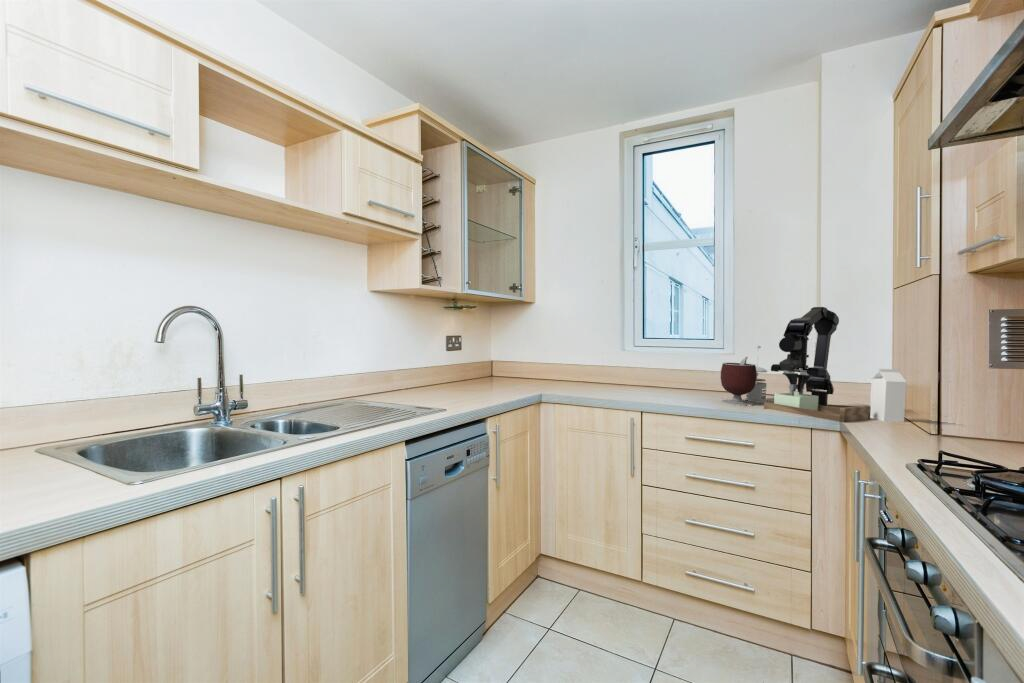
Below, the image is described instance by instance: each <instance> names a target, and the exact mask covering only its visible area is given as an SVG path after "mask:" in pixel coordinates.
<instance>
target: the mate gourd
mask: <svg viewBox="0 0 1024 683" xmlns="http://www.w3.org/2000/svg"><path fill="white" fill-rule="evenodd" d="M747 360H748V356H745V357H744V358H743V359H742V360H741V361H740V362H722V365H721V368H720V383H721V387H722V388H723V389H724V391H726V392H728V393H730V394H732V395H733V398H732V399H722V400H721V403H722V404H724V403H726V404H725V405H728V404H732V405H731V406H736V405H752V406H754V402H750V401H745V400H743V398H742V396H744V395H746V393H749V392H751V391H752V390H753V389H754V387H755V384H756V378H758V376H757V373H758V372H756V367H757V365H756V364H754V363H747Z"/></svg>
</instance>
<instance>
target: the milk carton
mask: <svg viewBox="0 0 1024 683" xmlns="http://www.w3.org/2000/svg"><path fill="white" fill-rule="evenodd" d="M906 395H907V381H906V379H905V377H904V376H903V375H902V374H901V373H900V369H897V368H895V369H894V368H892V369H890V368H879V369H878V372H877V373H876V374H875V375H874V376H873V377H872V378H871V383H870V400H869V402H870V403H869V406H871V411H870V419H873V420H878V421H880V422H881V421H882V422H891V423H892V422H894V423H896V422H897V423H898V422H899V423H900V422H901V423H905V411H906V410H905V409H906Z"/></svg>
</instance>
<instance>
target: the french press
mask: <svg viewBox="0 0 1024 683" xmlns="http://www.w3.org/2000/svg"><path fill="white" fill-rule="evenodd" d="M755 348H756V349H757V351H759V349H761V345H759V344H758V345H756V346H755ZM756 359H757V360H756V361H757V362H756V364H757V365H756V372H757V377H756V384H755V387H754V389H753V390H752V391H751V392H749V393H746V394H745V395H746V398H744V399H743V401H745V400H748V401H747V402H750V401H755V402H754V403H760V402H767V401H768V400H767V383H766V379H763V378H758V376H759V373H767V372H768V370H767V369H765V368H763V367H760V366H759V357H757V358H756Z"/></svg>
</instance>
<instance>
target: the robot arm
mask: <svg viewBox="0 0 1024 683" xmlns="http://www.w3.org/2000/svg"><path fill="white" fill-rule="evenodd" d="M839 323H840V318H839V316H838V315H837V314H836V312H833V311H832V310H829V309H828V307H825V306H813V307H811V308H810V310H809V311H808V312H806V313H805V314H804V315H802V317H797V318H793V319H790V321H789V322H788V324H787V325H786V328H785V331H784V332H783V335H782V336H783V338H781V339H780V340H779V342H778V346H779V347H778V348H779V349H780V350H781V351H782V352H784V353H787V356H786V359H785V358H784V359H783V360H781V361H780V362H779V363H773V364H771V367H770V371H771V372H782V375H785V377H786V378H787V380H788V382H789V385H792V384H798V389H794V392H796V390H797V393H799V392H801V390H802V388H803V386H804V387H805V389H806V390H805V391H806V392H807V393H811V394H810V395H815V396H818V405H822V406H828V398H829V397H828V395H834V392H835V391H834V390H835V387H834V386H833V383H832V380H831V374H830V373H829V372H828V369H827V368H828V362H829V355H830V354H829V353H830V347H831V346H830V344H831V340H832V339H831V338H832V337H831V336H832V335H833V334H834V333H835V331H837V330H838V325H839ZM813 328H814V330H815V332H816V333H817V337H816V343H815V344H816V345H815V351H814V361H813V366H812V367H809V365H807V361H808V360H807V359H808V358H810V357H809V356H810V355H809V354H808V341H809V340H810V338H809V335H811V332H812V330H813Z"/></svg>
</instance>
